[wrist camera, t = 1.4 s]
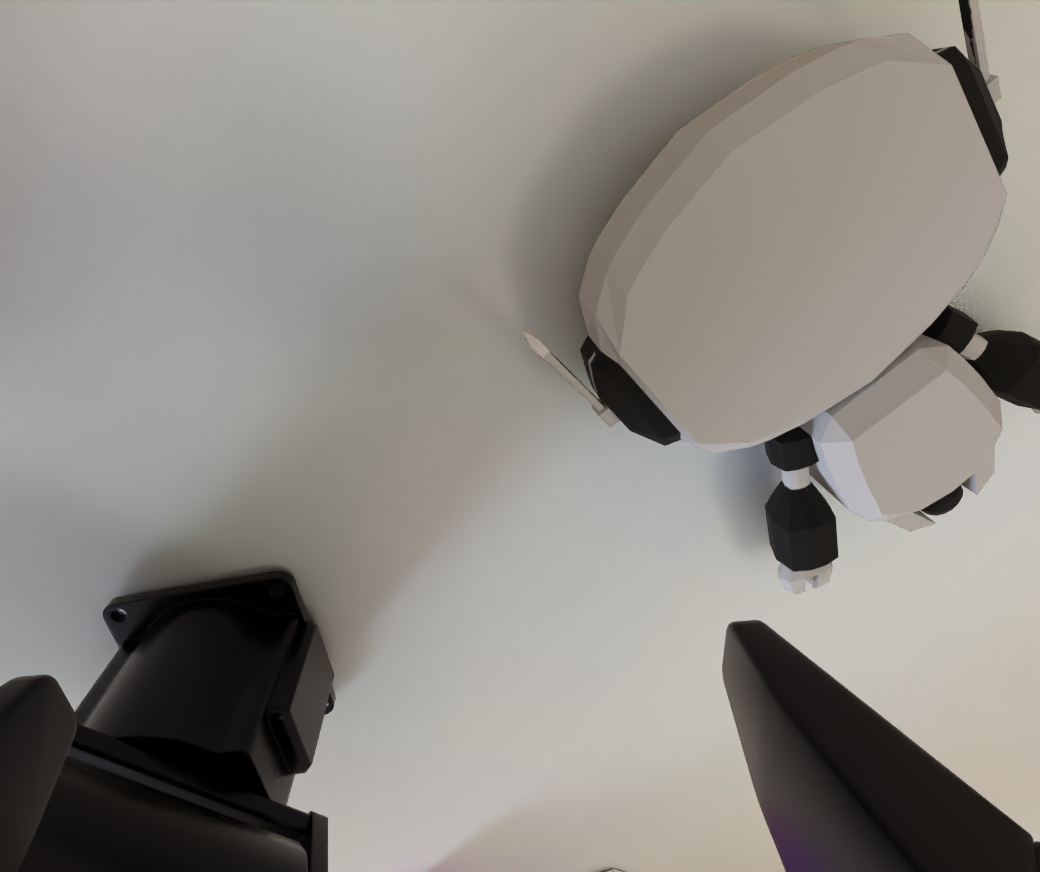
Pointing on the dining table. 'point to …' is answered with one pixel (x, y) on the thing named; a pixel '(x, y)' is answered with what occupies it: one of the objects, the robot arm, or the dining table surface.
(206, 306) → the dining table surface
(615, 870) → the building block set
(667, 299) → the robot toy
